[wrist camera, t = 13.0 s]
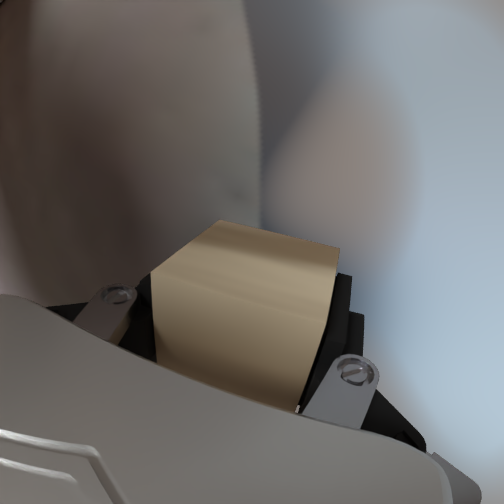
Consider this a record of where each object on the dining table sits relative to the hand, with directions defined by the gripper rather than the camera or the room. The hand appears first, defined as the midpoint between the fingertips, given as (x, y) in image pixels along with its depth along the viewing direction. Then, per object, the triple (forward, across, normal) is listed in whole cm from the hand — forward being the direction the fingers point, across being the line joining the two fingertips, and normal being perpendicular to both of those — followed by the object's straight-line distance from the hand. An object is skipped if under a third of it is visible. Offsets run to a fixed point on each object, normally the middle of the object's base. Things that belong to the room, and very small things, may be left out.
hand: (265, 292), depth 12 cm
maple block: (0, 0, 0) cm, 0 cm away
